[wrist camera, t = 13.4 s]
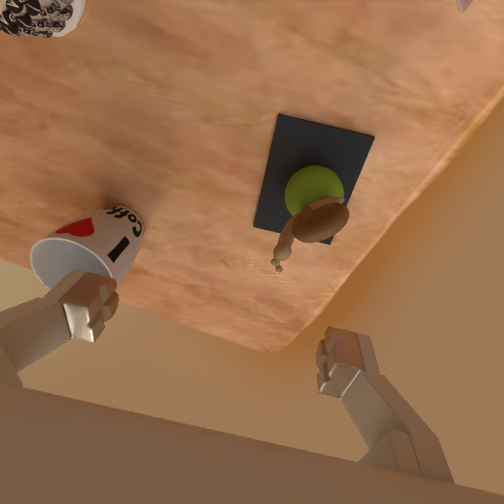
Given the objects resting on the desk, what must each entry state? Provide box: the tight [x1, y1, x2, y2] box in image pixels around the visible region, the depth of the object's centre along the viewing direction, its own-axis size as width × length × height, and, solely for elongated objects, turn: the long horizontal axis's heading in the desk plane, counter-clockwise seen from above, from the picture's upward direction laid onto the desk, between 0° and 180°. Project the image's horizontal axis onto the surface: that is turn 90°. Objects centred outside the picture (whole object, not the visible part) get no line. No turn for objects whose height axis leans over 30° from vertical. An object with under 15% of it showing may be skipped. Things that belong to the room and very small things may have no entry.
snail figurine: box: [271, 165, 349, 273], centre depth 25 cm, size 5×6×12 cm
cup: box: [30, 205, 144, 291], centre depth 32 cm, size 8×8×10 cm
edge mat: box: [253, 114, 375, 245], centre depth 30 cm, size 12×9×1 cm
